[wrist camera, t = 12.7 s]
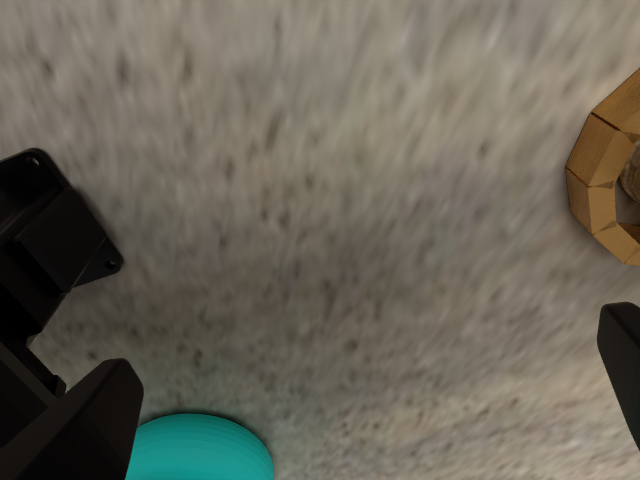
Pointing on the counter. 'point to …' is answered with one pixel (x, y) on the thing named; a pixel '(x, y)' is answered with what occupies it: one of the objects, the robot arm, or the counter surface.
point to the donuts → (197, 450)
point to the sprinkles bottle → (632, 174)
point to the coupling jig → (606, 169)
